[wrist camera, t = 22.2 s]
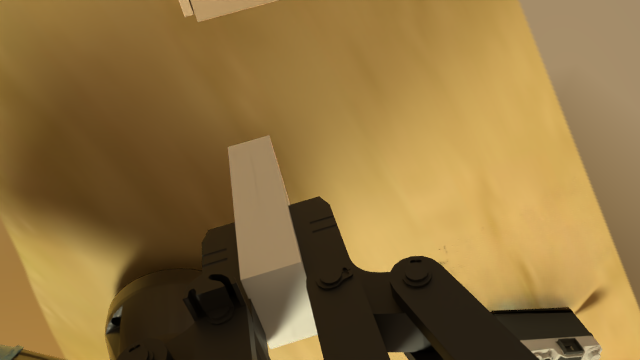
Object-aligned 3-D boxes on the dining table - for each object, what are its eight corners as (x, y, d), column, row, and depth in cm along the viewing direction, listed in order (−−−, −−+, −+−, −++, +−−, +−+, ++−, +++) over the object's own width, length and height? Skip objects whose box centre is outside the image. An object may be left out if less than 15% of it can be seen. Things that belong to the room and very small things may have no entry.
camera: (466, 346, 75) (499, 405, 67) (485, 306, 71) (522, 364, 63) (553, 340, 79) (594, 395, 71) (576, 302, 75) (622, 356, 67)
